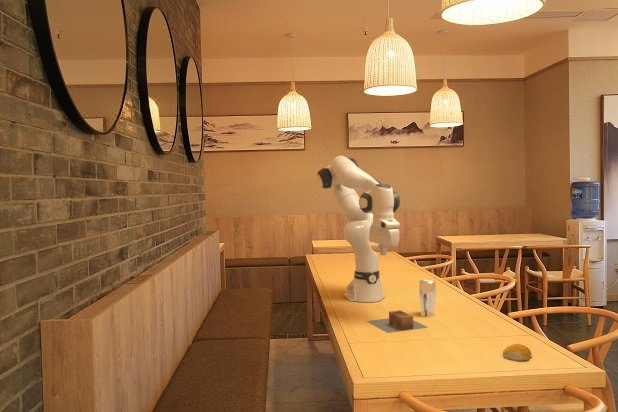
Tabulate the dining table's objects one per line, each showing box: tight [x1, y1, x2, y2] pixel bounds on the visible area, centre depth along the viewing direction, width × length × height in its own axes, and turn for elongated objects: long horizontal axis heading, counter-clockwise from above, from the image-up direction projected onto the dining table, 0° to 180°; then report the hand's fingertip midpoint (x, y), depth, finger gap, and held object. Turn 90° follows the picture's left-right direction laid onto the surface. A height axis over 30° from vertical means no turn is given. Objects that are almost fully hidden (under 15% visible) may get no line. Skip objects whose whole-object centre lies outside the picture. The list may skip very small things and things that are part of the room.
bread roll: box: [502, 343, 532, 362], centre depth 166 cm, size 8×9×4 cm
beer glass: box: [418, 279, 437, 318], centre depth 217 cm, size 7×7×15 cm
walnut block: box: [388, 309, 414, 331], centre depth 201 cm, size 5×5×10 cm
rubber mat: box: [366, 317, 429, 334], centre depth 204 cm, size 18×18×1 cm
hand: (383, 254), depth 217 cm, fingers closed
